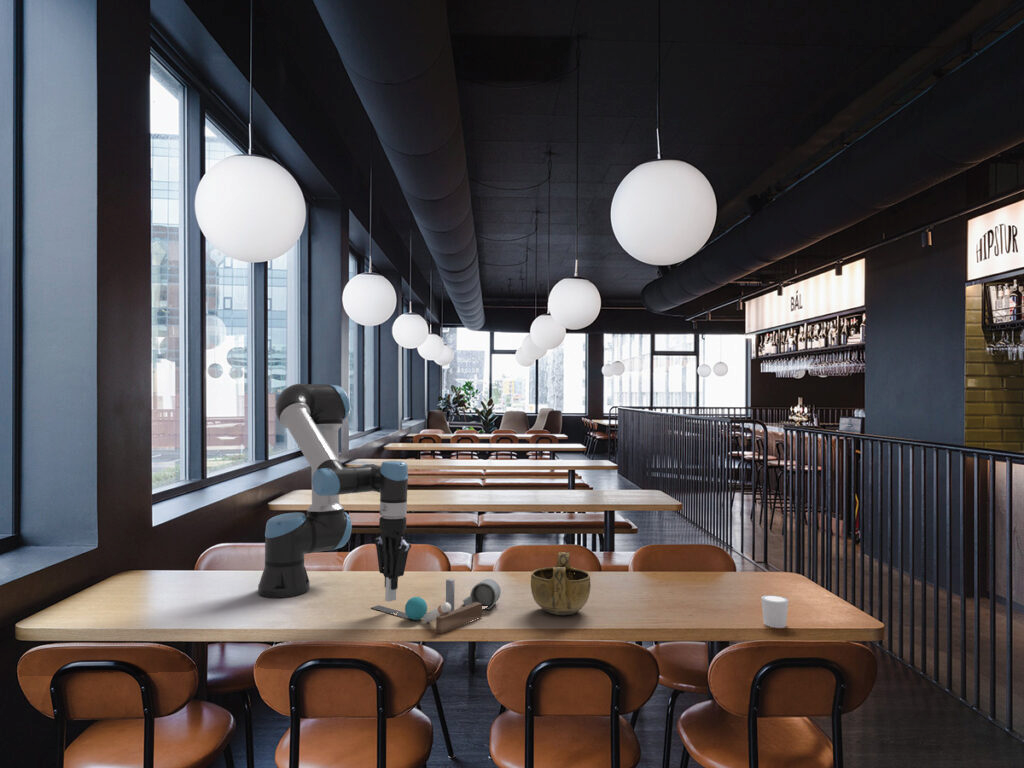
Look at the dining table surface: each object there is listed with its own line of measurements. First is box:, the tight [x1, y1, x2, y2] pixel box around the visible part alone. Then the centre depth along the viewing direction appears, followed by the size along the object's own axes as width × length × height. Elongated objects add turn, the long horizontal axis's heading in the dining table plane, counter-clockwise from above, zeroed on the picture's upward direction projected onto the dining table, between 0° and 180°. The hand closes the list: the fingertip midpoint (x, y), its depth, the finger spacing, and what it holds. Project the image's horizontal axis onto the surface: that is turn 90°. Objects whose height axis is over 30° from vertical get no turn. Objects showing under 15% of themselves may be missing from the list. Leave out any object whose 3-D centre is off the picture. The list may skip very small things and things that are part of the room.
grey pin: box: [445, 578, 456, 613], centre depth 183 cm, size 2×2×9 cm
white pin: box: [422, 601, 451, 623], centre depth 172 cm, size 2×2×9 cm
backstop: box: [435, 602, 483, 635], centre depth 173 cm, size 2×16×4 cm, turn 143°
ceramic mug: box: [462, 578, 501, 610], centre depth 189 cm, size 11×8×8 cm
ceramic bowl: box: [530, 551, 591, 616], centre depth 184 cm, size 22×17×15 cm
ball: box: [404, 596, 428, 621], centre depth 177 cm, size 6×6×6 cm
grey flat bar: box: [370, 604, 410, 620], centre depth 182 cm, size 16×3×1 cm, turn 53°
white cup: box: [760, 594, 789, 629], centre depth 176 cm, size 7×7×7 cm
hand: (390, 600), depth 183 cm, fingers closed
